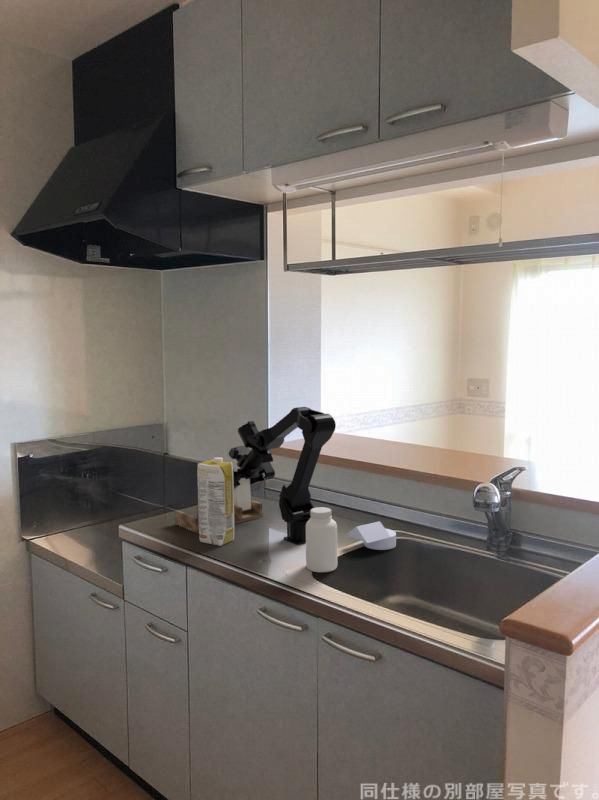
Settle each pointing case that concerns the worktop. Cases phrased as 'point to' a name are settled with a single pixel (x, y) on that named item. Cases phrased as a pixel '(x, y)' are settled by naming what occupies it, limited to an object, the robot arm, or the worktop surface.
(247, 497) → the grey piece
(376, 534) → the wedge on round base
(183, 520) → the comb rack
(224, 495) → the juice carton
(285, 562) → the worktop surface
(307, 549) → the pill bottle
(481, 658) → the worktop surface
